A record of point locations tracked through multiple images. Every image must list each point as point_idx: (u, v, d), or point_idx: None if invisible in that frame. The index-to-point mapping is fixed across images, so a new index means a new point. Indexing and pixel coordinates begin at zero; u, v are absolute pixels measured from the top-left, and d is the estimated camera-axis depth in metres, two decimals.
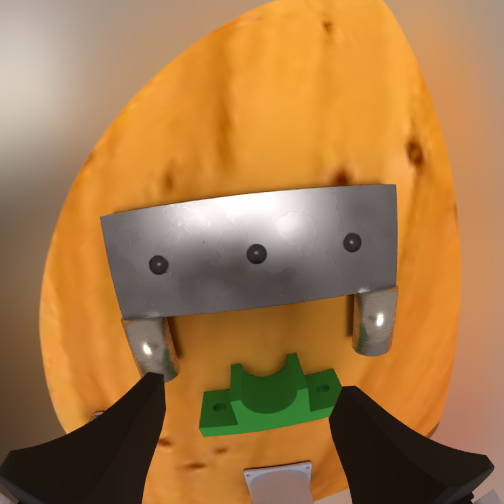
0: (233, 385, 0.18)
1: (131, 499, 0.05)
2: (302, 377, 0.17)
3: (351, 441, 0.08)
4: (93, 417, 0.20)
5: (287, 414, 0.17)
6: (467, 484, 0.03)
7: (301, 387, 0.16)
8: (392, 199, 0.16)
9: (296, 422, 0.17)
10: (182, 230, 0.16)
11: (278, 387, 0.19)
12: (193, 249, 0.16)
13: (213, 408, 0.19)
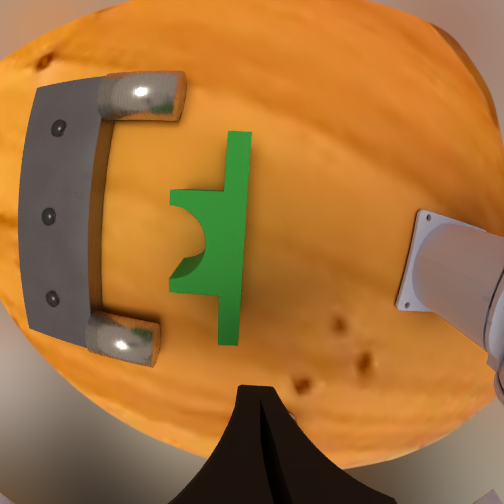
0: None
1: None
2: None
3: None
4: None
5: (215, 225, 0.13)
6: None
7: (170, 197, 0.13)
8: (44, 90, 0.12)
9: (240, 215, 0.13)
10: (33, 270, 0.15)
11: None
12: (43, 267, 0.15)
13: None
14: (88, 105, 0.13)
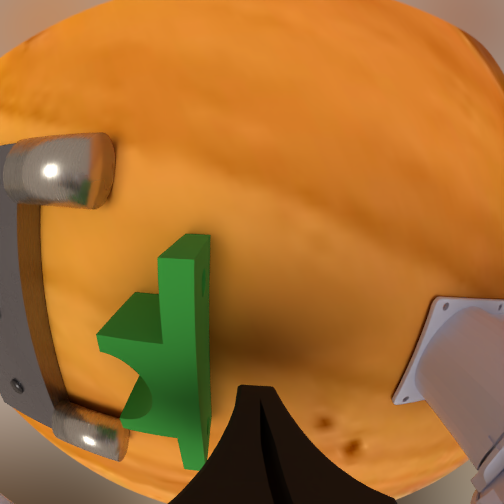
0: None
1: None
2: None
3: None
4: None
5: (159, 379, 0.09)
6: None
7: (100, 340, 0.09)
8: None
9: (190, 371, 0.09)
10: None
11: None
12: (1, 357, 0.11)
13: None
14: (4, 184, 0.09)
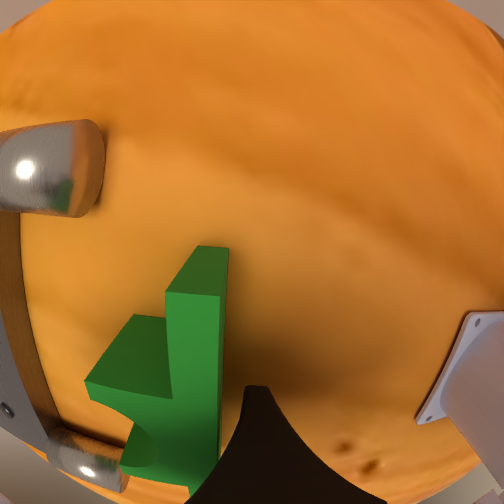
0: None
1: None
2: None
3: None
4: None
5: (168, 434, 0.06)
6: None
7: (89, 386, 0.06)
8: None
9: (208, 429, 0.06)
10: None
11: None
12: None
13: None
14: None
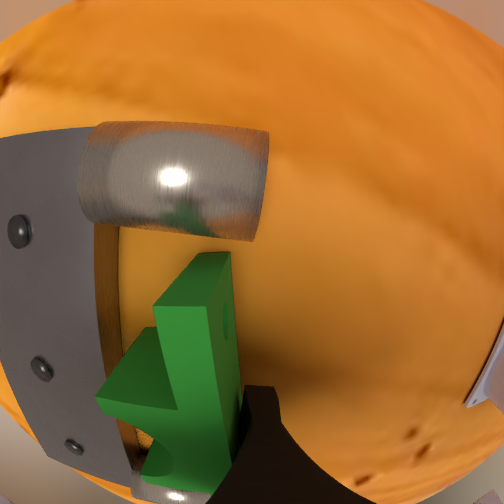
0: None
1: None
2: None
3: None
4: None
5: (180, 444, 0.06)
6: None
7: (101, 401, 0.06)
8: None
9: (217, 437, 0.06)
10: (38, 415, 0.09)
11: None
12: (52, 417, 0.09)
13: None
14: (64, 192, 0.07)
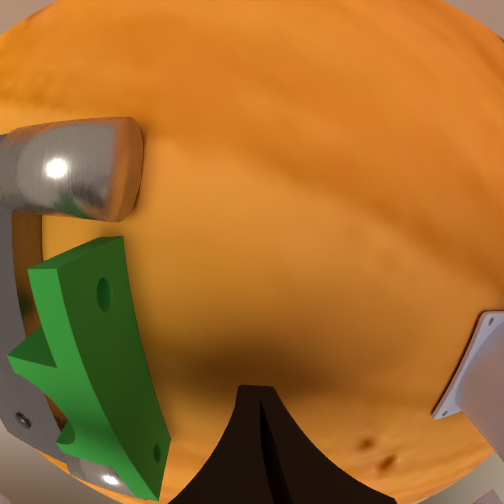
0: None
1: None
2: None
3: None
4: None
5: (69, 406, 0.06)
6: None
7: (13, 361, 0.06)
8: None
9: (92, 400, 0.06)
10: None
11: None
12: (2, 390, 0.09)
13: None
14: None
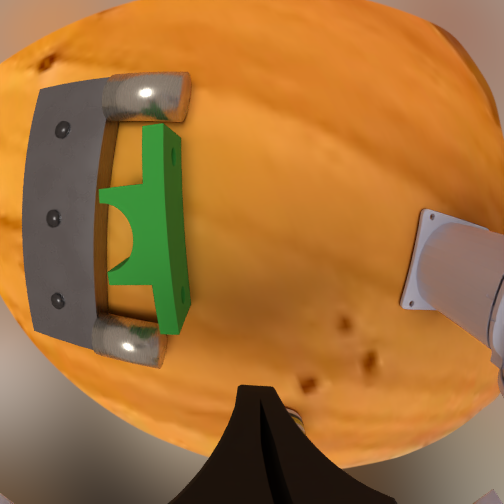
0: None
1: None
2: None
3: None
4: None
5: (139, 216, 0.13)
6: None
7: (100, 196, 0.13)
8: (47, 91, 0.13)
9: (160, 203, 0.13)
10: (38, 272, 0.15)
11: None
12: (48, 269, 0.15)
13: None
14: (92, 106, 0.13)
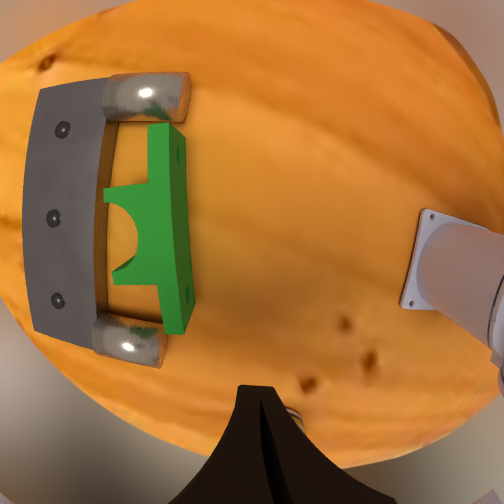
0: None
1: None
2: None
3: None
4: None
5: (144, 216, 0.13)
6: None
7: (105, 195, 0.13)
8: (47, 91, 0.13)
9: (165, 203, 0.13)
10: (38, 272, 0.15)
11: None
12: (48, 269, 0.15)
13: None
14: (92, 106, 0.13)
